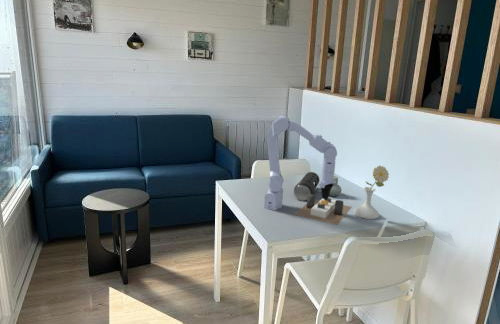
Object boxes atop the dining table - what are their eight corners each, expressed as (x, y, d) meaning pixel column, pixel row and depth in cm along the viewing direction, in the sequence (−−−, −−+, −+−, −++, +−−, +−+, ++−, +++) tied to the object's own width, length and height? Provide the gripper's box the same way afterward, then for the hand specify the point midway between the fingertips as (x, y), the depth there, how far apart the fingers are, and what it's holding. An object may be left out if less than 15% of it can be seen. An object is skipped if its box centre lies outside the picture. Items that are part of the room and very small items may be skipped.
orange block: (327, 205, 169) (327, 202, 169) (321, 203, 170) (321, 200, 170) (328, 204, 170) (328, 201, 170) (322, 202, 172) (322, 199, 171)
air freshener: (319, 191, 201) (320, 174, 199) (332, 190, 204) (334, 173, 201) (329, 198, 191) (331, 180, 189) (342, 197, 194) (344, 179, 191)
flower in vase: (355, 220, 164) (362, 167, 158) (351, 211, 175) (358, 160, 169) (385, 223, 162) (393, 169, 156) (379, 213, 173) (387, 163, 167)
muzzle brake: (304, 189, 210) (321, 185, 206) (293, 204, 184) (313, 200, 181) (300, 173, 209) (317, 169, 205) (289, 186, 183) (308, 182, 180)
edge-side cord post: (340, 215, 166) (342, 203, 164) (333, 214, 167) (334, 201, 166) (342, 213, 169) (344, 201, 167) (335, 211, 170) (336, 199, 169)
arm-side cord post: (312, 209, 172) (313, 197, 170) (305, 207, 174) (306, 195, 172) (315, 207, 175) (316, 195, 173) (308, 205, 177) (309, 193, 175)
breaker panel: (336, 227, 156) (338, 215, 154) (293, 216, 165) (294, 205, 163) (351, 208, 178) (352, 198, 176) (312, 200, 187) (313, 190, 186)
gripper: (331, 175, 158) (328, 205, 162) (340, 168, 171) (337, 196, 174) (316, 173, 161) (313, 201, 165) (326, 166, 174) (323, 193, 177)
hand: (325, 198), depth 170 cm, fingers closed
